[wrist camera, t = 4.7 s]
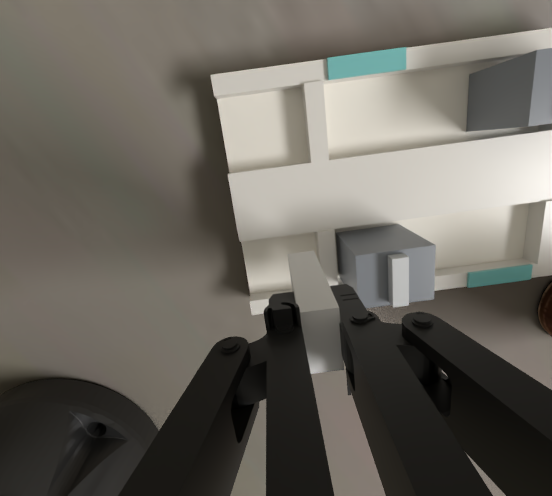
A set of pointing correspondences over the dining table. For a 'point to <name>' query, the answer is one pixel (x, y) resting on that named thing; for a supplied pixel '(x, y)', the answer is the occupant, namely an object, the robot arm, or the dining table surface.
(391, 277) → the tab
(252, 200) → the switch bank
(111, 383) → the dining table surface
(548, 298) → the coffee cup
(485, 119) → the tab
